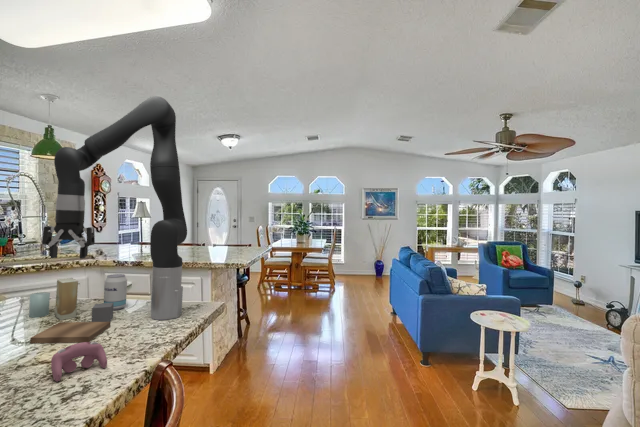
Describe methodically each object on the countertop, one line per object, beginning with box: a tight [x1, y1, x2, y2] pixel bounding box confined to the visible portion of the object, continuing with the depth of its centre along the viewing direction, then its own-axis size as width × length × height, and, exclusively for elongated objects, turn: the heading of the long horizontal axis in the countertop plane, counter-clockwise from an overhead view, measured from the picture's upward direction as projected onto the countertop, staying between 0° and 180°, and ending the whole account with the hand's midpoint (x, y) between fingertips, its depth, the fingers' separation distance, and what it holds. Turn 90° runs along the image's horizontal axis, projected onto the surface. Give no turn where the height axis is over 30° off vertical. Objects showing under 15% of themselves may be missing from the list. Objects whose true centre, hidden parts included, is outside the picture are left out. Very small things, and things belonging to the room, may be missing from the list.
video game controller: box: [50, 341, 108, 383], centre depth 71 cm, size 10×5×7 cm, turn 140°
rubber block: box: [90, 302, 114, 322], centre depth 103 cm, size 5×5×5 cm
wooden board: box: [29, 321, 112, 344], centre depth 91 cm, size 14×12×2 cm
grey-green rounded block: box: [28, 291, 51, 319], centre depth 106 cm, size 5×5×7 cm
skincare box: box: [54, 277, 79, 321], centre depth 105 cm, size 6×4×12 cm
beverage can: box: [103, 273, 128, 311], centre depth 116 cm, size 7×7×12 cm
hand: (68, 258), depth 105 cm, fingers open, 8 cm apart
